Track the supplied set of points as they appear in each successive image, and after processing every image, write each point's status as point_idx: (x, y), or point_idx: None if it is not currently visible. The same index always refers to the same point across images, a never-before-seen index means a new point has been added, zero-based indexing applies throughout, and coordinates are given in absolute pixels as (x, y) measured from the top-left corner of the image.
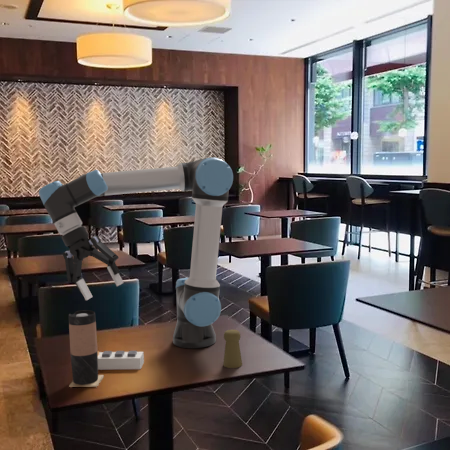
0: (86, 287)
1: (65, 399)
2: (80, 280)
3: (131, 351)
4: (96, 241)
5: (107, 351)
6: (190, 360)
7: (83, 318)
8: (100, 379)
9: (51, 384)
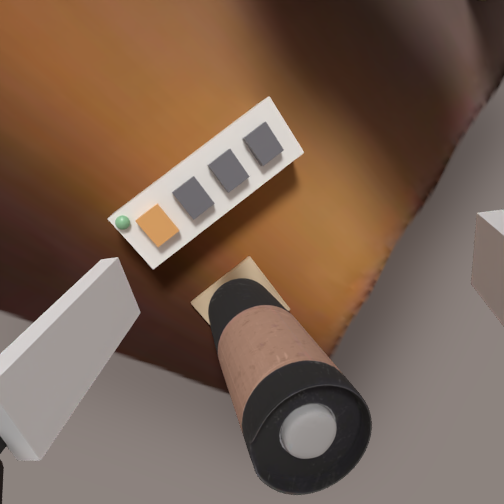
0: (72, 325)
1: None
2: (20, 422)
3: (257, 139)
4: None
5: (186, 189)
6: (367, 3)
7: (357, 452)
8: (268, 281)
9: (177, 369)
